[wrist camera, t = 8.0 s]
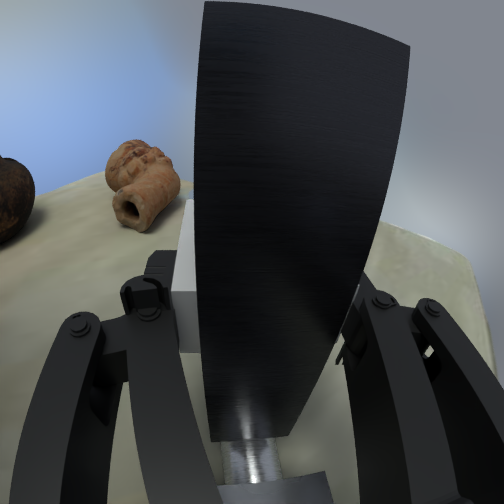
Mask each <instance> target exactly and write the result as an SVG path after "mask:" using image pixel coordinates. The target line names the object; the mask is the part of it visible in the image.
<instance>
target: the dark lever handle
mask: <svg viewBox="0 0 504 504" xmlns="http://www.w3.org/2000/svg"><path fill="white" fill-rule="evenodd" d="M409 57H410V46H408V45H406V44H404V43H402V42H399V41H397V40H395V39H392V38H390V37H387V36H385V35H382V34H380V33H377V32H374V31H372V30H368V29H366V28H363V27H360V26H357V25H354V24H350V23H347V22H344V21H341V20H336V19H333V18H329V17H326V16H322V15H318V14H313V13H309V12H304V11H299V10H294V9H288V8H282V7H276V6H268V5H260V4H251V3H238V2H216V1H205V3H204V12H203V20H202V30H201V40H200V51H199V63H198V76H197V92H196V112H195V137H194V245H195V273H196V293H197V310H198V324H199V338H200V350H201V361H202V371H203V381H204V390H205V399H206V408H207V416H208V423H209V431H210V438H211V442H221V451H222V461H223V470H224V479H225V485H237V484H250V483H259V482H268V481H275V480H282V479H283V477H282V472H281V467H280V462H279V458H278V453H277V448H276V443H275V438H274V437H281V436H288V435H289V433H290V431H291V430H292V428H293V426H294V424H295V423H296V421H297V419H298V417H299V415H300V414H301V412H302V410H303V408H304V406H305V404H306V402H307V400H308V398H309V397H310V395H311V393H312V391H313V389H314V387H315V385H316V383H317V381H318V379H319V377H320V374H321V372H322V370H323V368H324V366H325V364H326V362H327V360H328V357H329V355H330V353H331V351H332V349H333V346H334V344H335V342H336V339H337V337H338V335H339V332H340V330H341V328H342V325H343V323H344V320H345V318H346V315H347V313H348V310H349V308H350V305H351V303H352V300H353V298H354V295H355V292H356V290H357V287H358V284H359V281H360V278H361V276H362V273H363V270H364V267H365V264H366V261H367V258H368V255H369V252H370V249H371V246H372V243H373V239H374V236H375V233H376V229H377V226H378V223H379V219H380V216H381V212H382V208H383V205H384V201H385V197H386V193H387V189H388V185H389V181H390V177H391V173H392V168H393V164H394V159H395V154H396V149H397V144H398V139H399V134H400V128H401V122H402V116H403V109H404V103H405V96H406V88H407V78H408V69H409Z"/></svg>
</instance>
